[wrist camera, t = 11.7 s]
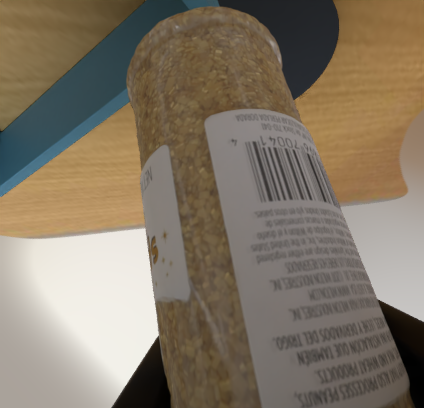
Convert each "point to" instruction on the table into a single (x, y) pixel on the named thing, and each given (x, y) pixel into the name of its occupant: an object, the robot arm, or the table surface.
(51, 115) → the blue open rectangular frame
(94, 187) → the table surface
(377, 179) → the table surface
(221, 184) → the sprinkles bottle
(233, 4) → the coaster
